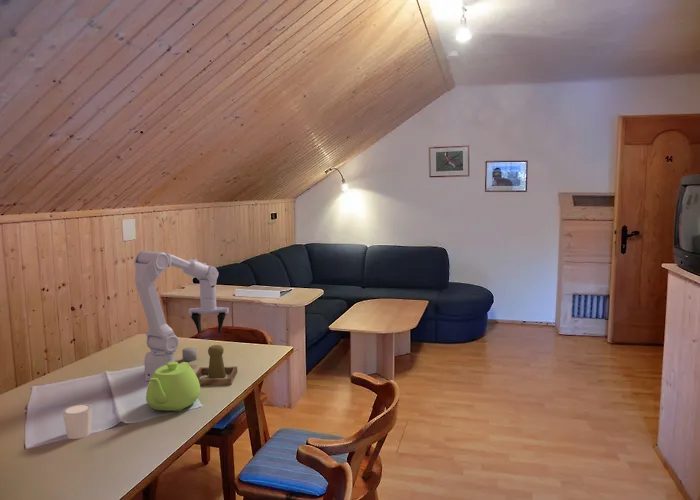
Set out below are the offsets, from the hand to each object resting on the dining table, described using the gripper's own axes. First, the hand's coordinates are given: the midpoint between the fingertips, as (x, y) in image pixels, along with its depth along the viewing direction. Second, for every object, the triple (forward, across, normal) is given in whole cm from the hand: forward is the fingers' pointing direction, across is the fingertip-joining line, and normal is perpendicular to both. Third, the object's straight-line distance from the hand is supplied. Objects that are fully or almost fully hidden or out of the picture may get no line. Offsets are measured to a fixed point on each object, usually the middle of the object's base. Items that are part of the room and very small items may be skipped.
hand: (209, 332), depth 196 cm
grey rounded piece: (+10, +8, 0) cm, 13 cm away
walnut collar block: (+10, -6, +21) cm, 24 cm away
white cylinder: (+11, +21, +59) cm, 64 cm away
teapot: (+11, +2, +43) cm, 44 cm away
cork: (+11, -6, +19) cm, 23 cm away
